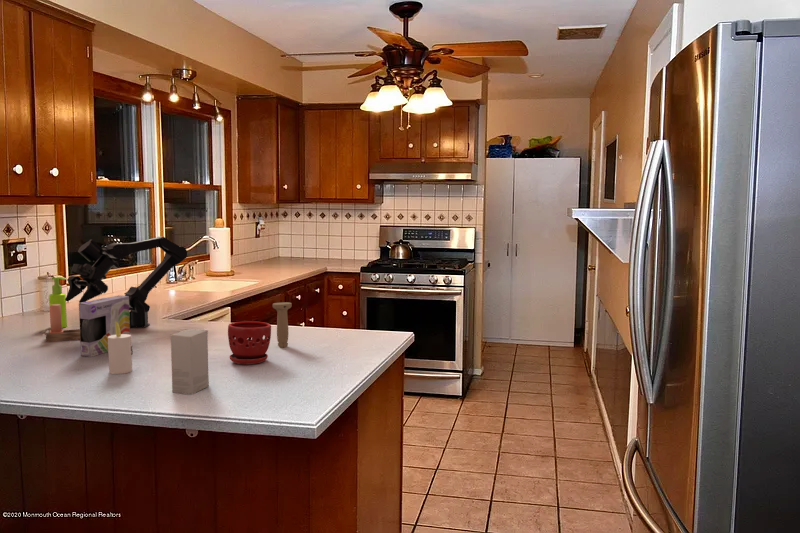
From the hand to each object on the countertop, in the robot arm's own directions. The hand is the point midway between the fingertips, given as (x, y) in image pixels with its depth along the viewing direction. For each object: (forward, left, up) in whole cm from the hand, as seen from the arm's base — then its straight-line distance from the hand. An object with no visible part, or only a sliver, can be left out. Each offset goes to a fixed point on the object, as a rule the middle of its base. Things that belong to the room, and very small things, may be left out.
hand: (73, 301), depth 250 cm
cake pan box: (-23, +25, -13) cm, 36 cm away
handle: (-81, +17, -13) cm, 84 cm away
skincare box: (-67, +71, -13) cm, 99 cm away
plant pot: (-75, +39, -13) cm, 86 cm away
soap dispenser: (+15, -18, -13) cm, 27 cm away
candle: (-40, +52, -13) cm, 67 cm away
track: (-1, +4, -13) cm, 13 cm away
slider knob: (+4, +6, -12) cm, 14 cm away
